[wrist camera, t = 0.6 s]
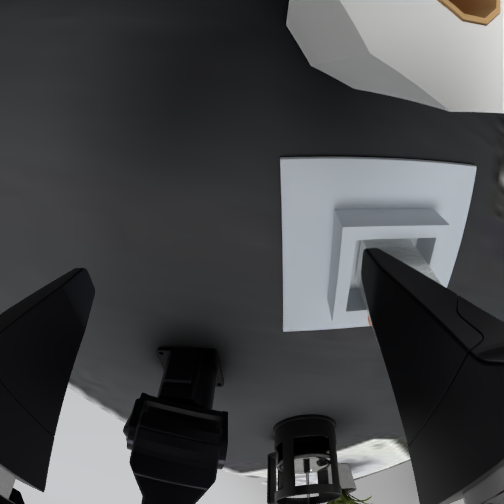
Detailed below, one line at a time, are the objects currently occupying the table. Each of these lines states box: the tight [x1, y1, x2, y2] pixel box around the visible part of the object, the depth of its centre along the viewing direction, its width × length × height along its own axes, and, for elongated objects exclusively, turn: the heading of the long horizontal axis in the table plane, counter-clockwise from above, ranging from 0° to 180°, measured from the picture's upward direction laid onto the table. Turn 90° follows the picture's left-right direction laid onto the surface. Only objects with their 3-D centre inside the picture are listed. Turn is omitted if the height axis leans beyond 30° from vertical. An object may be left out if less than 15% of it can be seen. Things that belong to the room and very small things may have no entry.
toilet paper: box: [286, 0, 504, 113], centre depth 10 cm, size 10×10×12 cm
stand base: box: [280, 157, 477, 332], centre depth 23 cm, size 16×16×4 cm
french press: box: [267, 415, 342, 504], centre depth 31 cm, size 12×9×23 cm
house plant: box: [327, 464, 371, 504], centre depth 46 cm, size 14×14×16 cm
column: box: [355, 238, 442, 348], centre depth 21 cm, size 5×4×8 cm
